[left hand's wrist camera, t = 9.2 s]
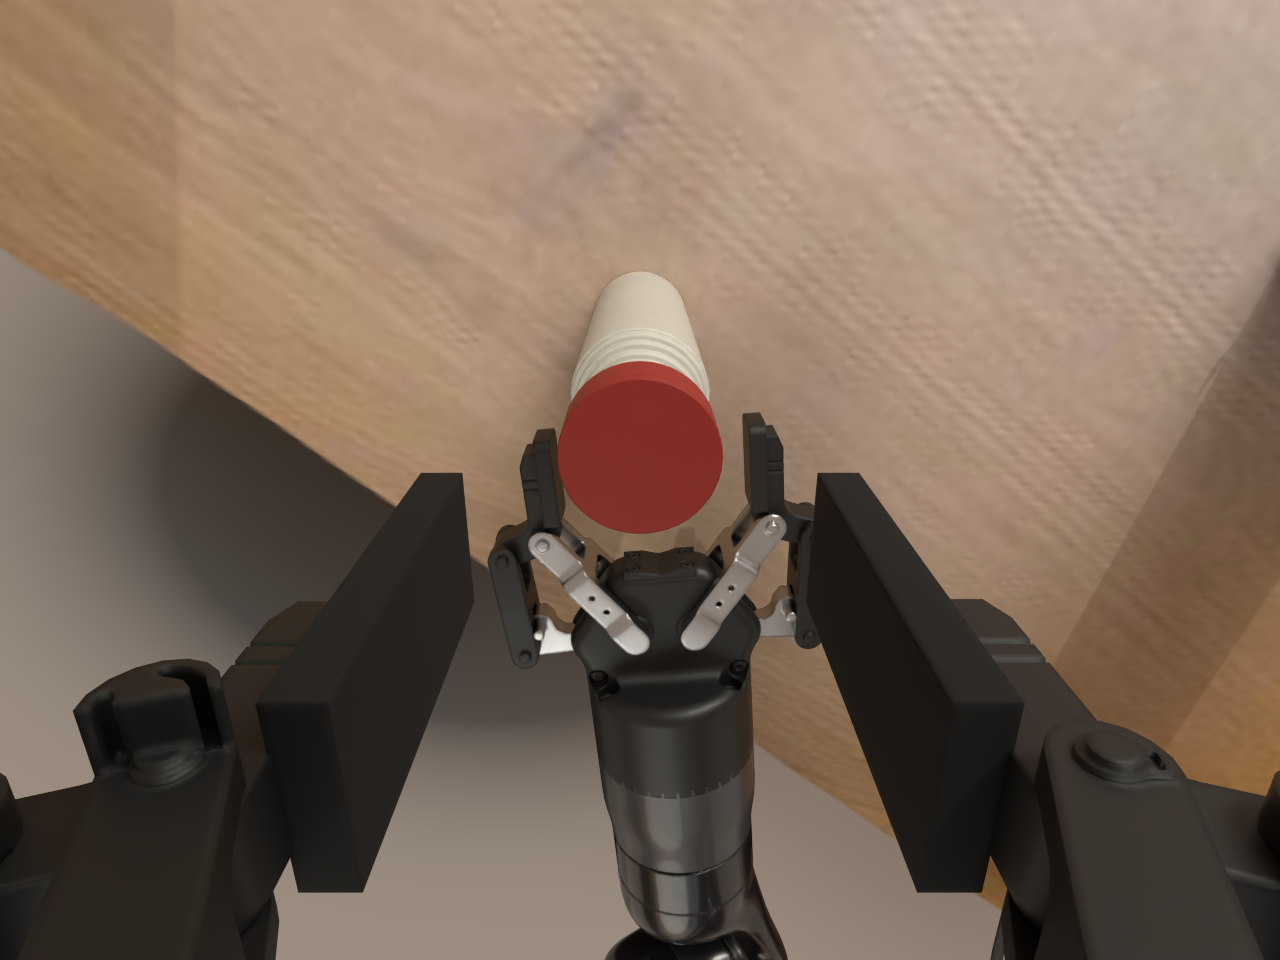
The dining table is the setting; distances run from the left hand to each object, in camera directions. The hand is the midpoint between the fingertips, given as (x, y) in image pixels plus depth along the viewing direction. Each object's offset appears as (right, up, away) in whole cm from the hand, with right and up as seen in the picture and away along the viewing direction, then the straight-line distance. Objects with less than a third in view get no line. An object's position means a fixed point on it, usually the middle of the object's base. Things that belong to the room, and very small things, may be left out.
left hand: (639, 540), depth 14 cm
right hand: (0, +3, +17) cm, 17 cm away
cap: (0, +2, +4) cm, 5 cm away
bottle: (0, +9, +22) cm, 23 cm away
